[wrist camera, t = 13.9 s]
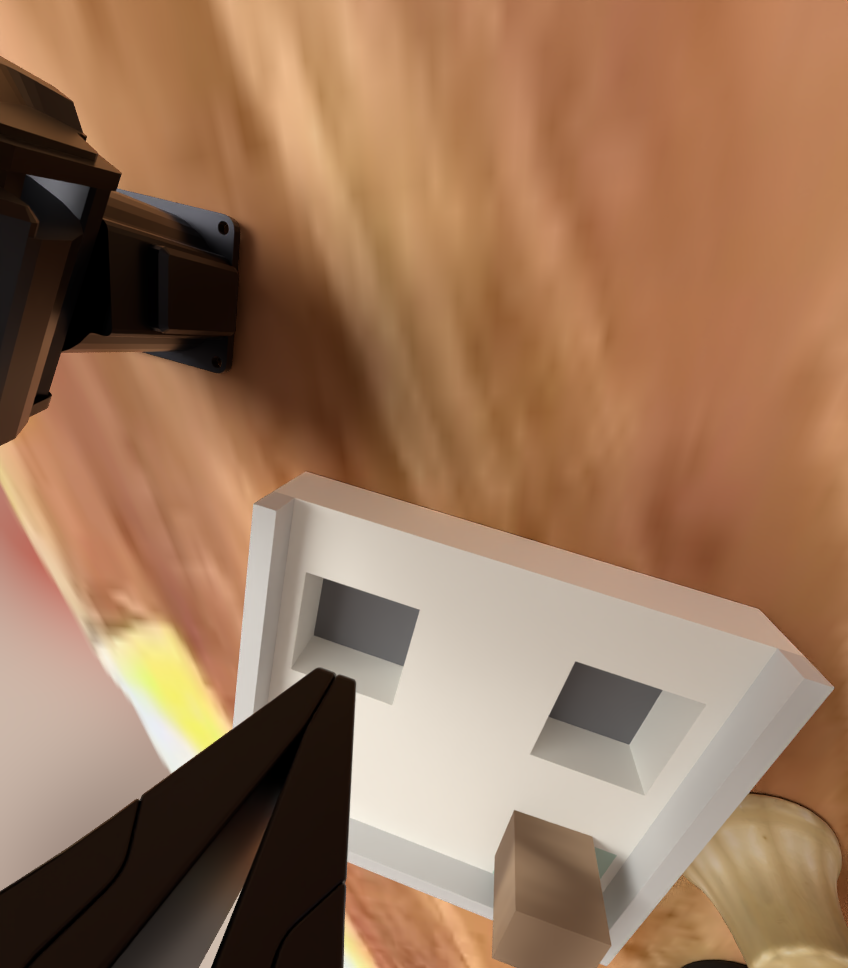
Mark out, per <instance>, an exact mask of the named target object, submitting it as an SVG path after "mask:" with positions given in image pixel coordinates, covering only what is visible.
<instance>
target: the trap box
mask: <svg viewBox="0 0 848 968" xmlns="http://www.w3.org/2000/svg"><path fill="white" fill-rule="evenodd" d="M318 667H321V668H324V669H327V670H330V671H333V672H335V673H336V676H337V675H339V674H341V675H344V676H347V677H350V678H352V679H355V680H356V701H355V721H354V740H353V760H352V780H351V799H350V819H349V838H348V858H347V862H349V863H352V864H354V865H357V866H359V867H362V868H364V869H367V870H369V871H372V872H374V873H377V874H379V875H382V876H384V877H386V878H389V879H391V880H394V881H396V882H399V883H401V884H404V885H406V886H409V887H411V888H414V889H416V890H419V891H421V892H424V893H426V894H429V895H431V896H434V897H436V898H439V899H441V900H443V901H446V902H448V903H451V904H453V905H456V906H458V907H461V908H463V909H466V910H468V911H471V912H473V913H476V914H478V915H481V916H483V917H486V918H488V919H491V920H493V903H494V862H495V854H496V852H497V849H498V847H499V844H500V842H501V840H502V837H503V835H504V833H505V830H506V828H507V825H508V823H509V821H510V818H511V816H512V814H513V811H514V810H516V811H519V812H522V813H525V814H528V815H531V816H534V817H537V818H539V819H542V820H545V821H548V822H551V823H554V824H557V825H560V826H563V827H566V828H569V829H572V830H575V831H578V832H581V833H584V834H587V835H590V836H592V837H593V842H594V848H595V854H596V859H597V865H598V871H599V877H600V882H601V888H602V894H603V900H604V905H605V911H606V917H607V923H608V928H609V934H610V940H611V945H612V946H611V947H610V949H609V950H608V952H607V953H606V955H605V956H604V958H603V959H602V961H601V962H600V964H602V965H605V966H607V965H608V964H609V963H610V962H611V961H612V959H613V958H614V957H615V956H616V954H617V953H618V952H619V951H620V950H621V948H622V947H623V946H624V945H625V943H626V942H627V941H628V940H629V939H630V937H631V936H632V935H633V934H634V932H635V931H636V930H637V929H638V928H639V926H640V925H641V924H642V923H643V921H644V920H645V919H646V918H647V917H648V915H649V914H650V913H651V912H652V910H653V909H654V908H655V907H656V906H657V904H658V903H659V902H660V901H661V899H662V898H663V897H664V896H665V895H666V893H667V892H668V891H669V890H670V888H671V887H672V886H673V885H674V884H675V882H676V881H677V880H678V879H679V877H680V876H681V875H682V874H683V873H684V871H685V870H686V869H687V868H688V866H689V865H690V864H691V863H692V862H693V860H694V859H695V858H696V857H697V855H698V854H699V853H700V852H701V851H702V849H703V848H704V847H705V846H706V845H707V843H708V842H709V841H710V840H711V838H712V837H713V836H714V835H715V834H716V832H717V831H718V830H719V829H720V827H721V826H722V825H723V824H724V823H725V821H726V820H727V819H728V818H729V816H730V815H731V814H732V813H733V812H734V810H735V809H736V808H737V807H738V805H739V804H740V803H741V802H742V801H743V799H744V798H745V797H746V796H747V794H748V793H749V792H750V791H751V790H752V788H753V787H754V786H755V785H756V783H757V782H758V781H759V780H760V779H761V777H762V776H763V775H764V774H765V772H766V771H767V770H768V769H769V768H770V766H771V765H772V764H773V763H774V761H775V760H776V759H777V758H778V757H779V755H780V754H781V753H782V752H783V750H784V749H785V748H786V747H787V746H788V744H789V743H790V742H791V741H792V739H793V738H794V737H795V736H796V735H797V733H798V732H799V731H800V730H801V729H802V727H803V726H804V725H805V724H806V722H807V721H808V720H809V719H810V718H811V716H812V715H813V714H814V713H815V711H816V710H817V709H818V708H819V707H820V705H821V704H822V703H823V702H824V700H825V699H826V698H827V697H828V696H829V694H830V693H831V692H832V691H833V689H834V687H833V686H832V684H831V683H830V682H829V681H828V680H827V679H826V678H825V677H824V676H823V675H822V674H821V673H820V672H819V671H818V670H817V669H816V668H815V667H814V666H813V665H812V664H811V663H810V662H809V661H808V659H807V658H806V657H805V656H804V655H803V654H802V653H801V652H800V651H799V650H798V649H797V648H796V647H795V646H794V645H793V644H792V643H791V642H790V641H789V640H788V639H787V638H786V637H785V636H784V635H783V633H782V632H781V631H780V630H779V629H778V628H777V627H776V626H775V625H774V624H773V623H772V622H771V621H770V620H769V619H768V618H767V617H766V616H765V615H764V614H763V613H762V612H761V611H760V610H759V609H757V608H754V607H751V606H747V605H744V604H741V603H737V602H734V601H731V600H727V599H724V598H721V597H718V596H714V595H711V594H708V593H704V592H701V591H698V590H695V589H691V588H688V587H685V586H681V585H678V584H675V583H672V582H668V581H665V580H662V579H658V578H655V577H652V576H648V575H645V574H642V573H639V572H635V571H632V570H629V569H625V568H622V567H619V566H616V565H612V564H609V563H606V562H602V561H599V560H596V559H593V558H589V557H586V556H583V555H579V554H576V553H573V552H569V551H566V550H563V549H560V548H556V547H553V546H550V545H546V544H543V543H540V542H537V541H533V540H530V539H527V538H523V537H520V536H517V535H514V534H510V533H507V532H504V531H500V530H497V529H494V528H490V527H487V526H484V525H481V524H477V523H474V522H471V521H467V520H464V519H461V518H458V517H454V516H451V515H448V514H444V513H441V512H438V511H435V510H431V509H428V508H425V507H421V506H418V505H415V504H411V503H408V502H405V501H402V500H398V499H395V498H392V497H388V496H385V495H382V494H379V493H375V492H372V491H369V490H365V489H362V488H359V487H356V486H352V485H349V484H346V483H342V482H339V481H336V480H332V479H329V478H326V477H323V476H319V475H316V474H313V473H309V472H306V471H305V472H304V473H302V474H301V475H299V476H297V477H296V478H294V479H293V480H291V481H289V482H288V483H286V484H284V485H283V486H281V487H280V488H278V489H276V490H275V491H273V492H272V493H270V494H268V495H267V496H265V497H264V498H262V499H260V500H259V501H257V502H255V503H254V504H253V514H252V525H251V536H250V547H249V557H248V568H247V579H246V590H245V601H244V611H243V622H242V633H241V644H240V655H239V665H238V676H237V687H236V698H235V709H234V719H233V728H235V727H236V726H237V725H239V724H240V723H241V722H243V721H244V720H245V719H247V718H248V717H250V716H251V715H252V714H254V713H255V712H256V711H258V710H259V709H261V708H262V707H263V706H265V705H266V704H267V703H269V702H270V701H271V700H273V699H274V698H276V697H277V696H278V695H280V694H281V693H282V692H284V691H285V690H287V689H288V688H289V687H291V686H292V685H293V684H295V683H296V682H298V681H299V680H300V679H302V678H303V677H304V676H306V675H307V674H308V673H310V672H311V671H313V670H314V669H315V668H318Z"/></svg>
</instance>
